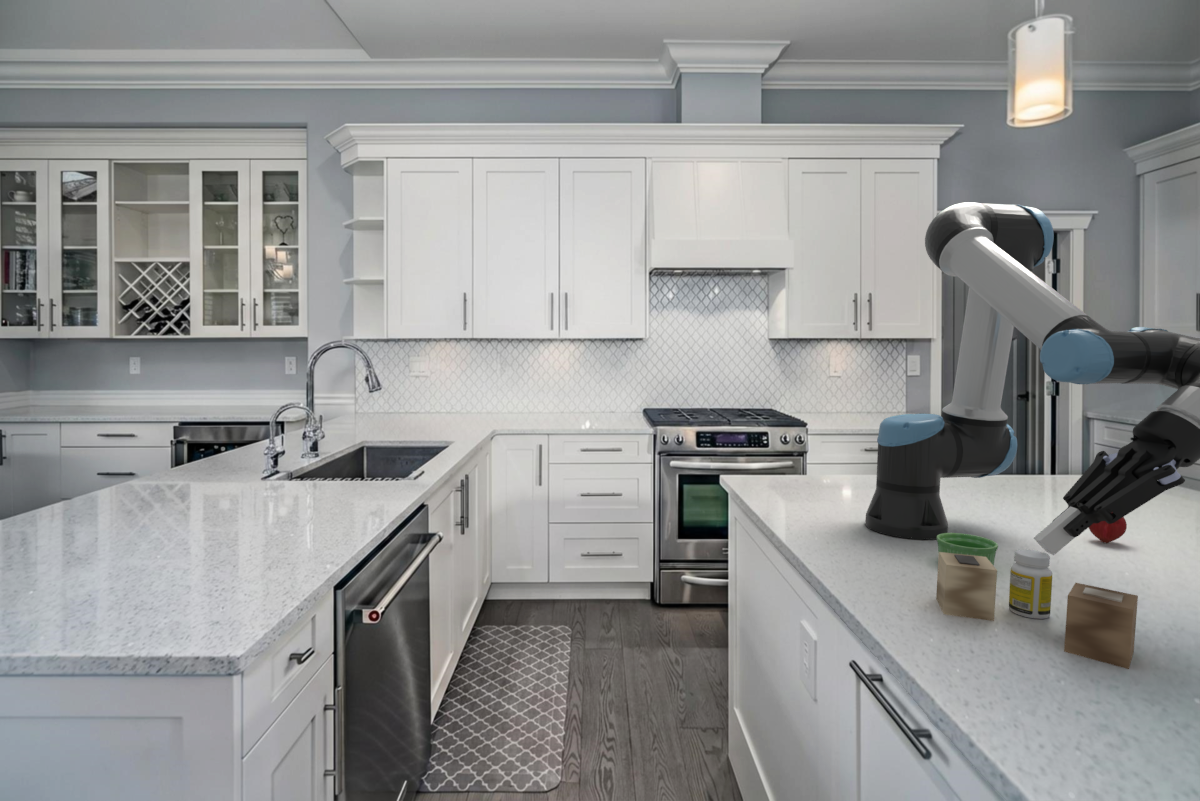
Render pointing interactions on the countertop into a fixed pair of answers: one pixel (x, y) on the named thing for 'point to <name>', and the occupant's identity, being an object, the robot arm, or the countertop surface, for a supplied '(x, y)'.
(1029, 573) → the supplement bottle
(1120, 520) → the onion
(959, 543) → the ramekin
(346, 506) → the countertop surface
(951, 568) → the maple block
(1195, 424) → the robot arm
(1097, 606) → the walnut block
